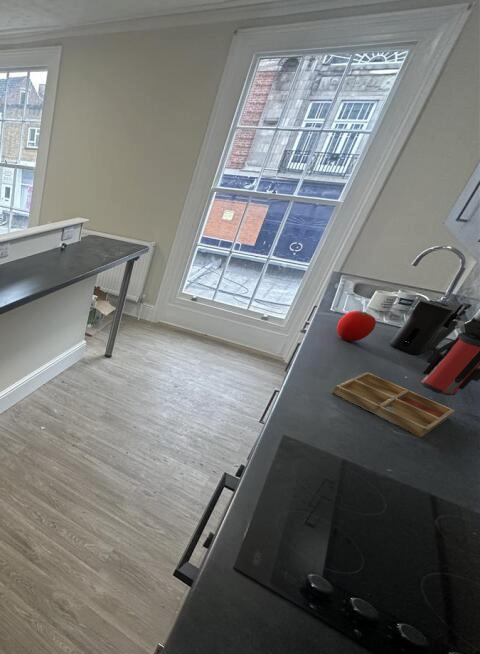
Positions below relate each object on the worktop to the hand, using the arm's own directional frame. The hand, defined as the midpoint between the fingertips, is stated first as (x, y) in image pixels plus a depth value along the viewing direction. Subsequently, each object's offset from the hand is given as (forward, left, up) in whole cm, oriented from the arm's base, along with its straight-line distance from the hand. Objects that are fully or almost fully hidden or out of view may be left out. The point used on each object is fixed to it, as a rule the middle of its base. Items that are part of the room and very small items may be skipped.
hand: (443, 380), depth 119 cm
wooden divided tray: (+5, +5, -12) cm, 14 cm away
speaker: (0, 0, -3) cm, 3 cm away
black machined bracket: (+19, -62, -12) cm, 66 cm away
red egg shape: (+35, -40, -12) cm, 54 cm away
